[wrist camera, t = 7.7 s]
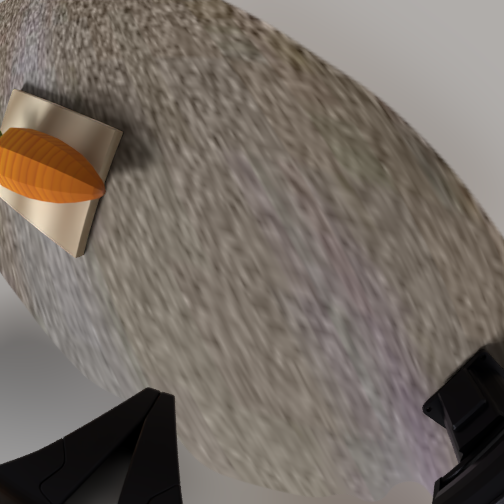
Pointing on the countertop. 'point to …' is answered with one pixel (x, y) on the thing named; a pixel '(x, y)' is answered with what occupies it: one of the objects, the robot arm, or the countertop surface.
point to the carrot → (46, 168)
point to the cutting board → (78, 137)
